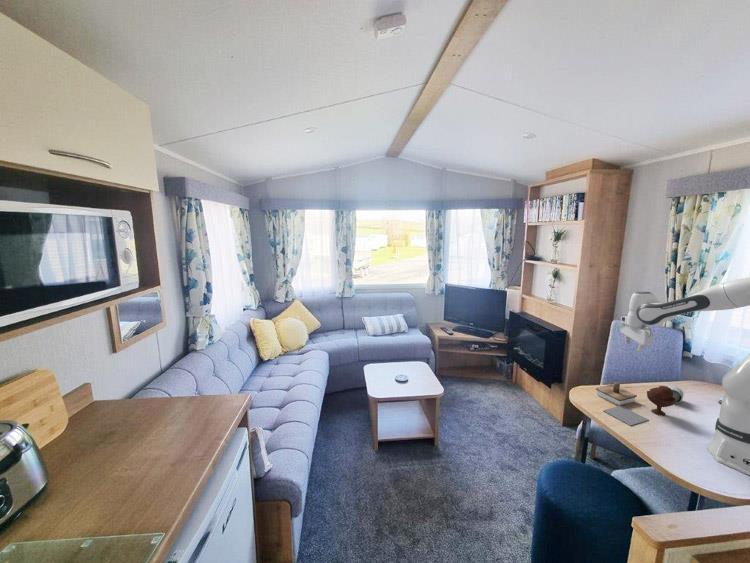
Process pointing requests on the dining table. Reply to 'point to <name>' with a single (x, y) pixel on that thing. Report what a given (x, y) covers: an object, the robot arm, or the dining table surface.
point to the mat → (626, 415)
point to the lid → (616, 392)
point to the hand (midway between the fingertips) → (633, 347)
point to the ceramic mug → (677, 393)
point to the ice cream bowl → (661, 398)
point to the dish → (615, 399)
